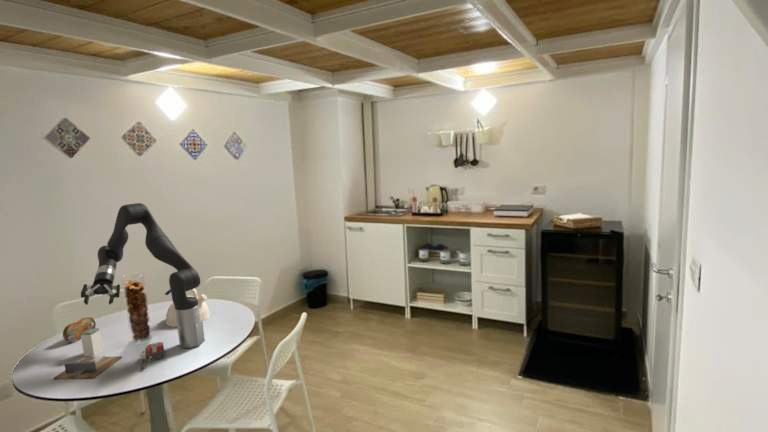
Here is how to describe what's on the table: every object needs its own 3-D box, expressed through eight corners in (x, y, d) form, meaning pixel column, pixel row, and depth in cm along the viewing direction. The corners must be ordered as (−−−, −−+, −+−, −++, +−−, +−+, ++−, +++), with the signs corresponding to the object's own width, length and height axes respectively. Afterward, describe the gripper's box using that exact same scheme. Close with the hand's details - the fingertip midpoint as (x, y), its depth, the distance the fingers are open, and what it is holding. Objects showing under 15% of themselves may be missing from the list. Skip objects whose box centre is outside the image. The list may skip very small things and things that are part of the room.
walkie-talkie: (141, 352, 181) (140, 372, 163) (139, 342, 180) (138, 361, 162) (164, 346, 185) (165, 366, 167) (162, 337, 184) (164, 355, 167)
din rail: (105, 357, 175) (105, 356, 175) (80, 375, 161) (79, 373, 161) (97, 358, 175) (97, 356, 175) (71, 376, 161) (71, 374, 161)
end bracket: (96, 370, 164) (94, 361, 164) (93, 372, 163) (91, 363, 162) (69, 371, 165) (67, 361, 164) (66, 373, 163) (64, 363, 163)
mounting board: (122, 357, 176) (121, 356, 175) (94, 378, 160) (94, 376, 160) (84, 358, 176) (84, 357, 176) (53, 379, 160) (53, 377, 160)
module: (102, 350, 184) (98, 328, 182) (94, 355, 179) (90, 333, 177) (92, 350, 184) (89, 328, 182) (84, 355, 179) (80, 333, 177)
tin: (68, 345, 190) (65, 327, 189) (63, 345, 191) (59, 327, 190) (97, 331, 205) (94, 314, 203) (91, 330, 205) (89, 314, 204)
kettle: (200, 326, 204) (195, 290, 202) (157, 328, 205) (152, 292, 202) (216, 310, 224) (213, 277, 222) (178, 312, 225) (174, 279, 222)
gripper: (85, 270, 190) (77, 297, 178) (122, 271, 196) (117, 297, 184) (86, 283, 194) (78, 309, 182) (122, 283, 200) (117, 309, 188)
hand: (98, 303), depth 183 cm, fingers open, 8 cm apart
